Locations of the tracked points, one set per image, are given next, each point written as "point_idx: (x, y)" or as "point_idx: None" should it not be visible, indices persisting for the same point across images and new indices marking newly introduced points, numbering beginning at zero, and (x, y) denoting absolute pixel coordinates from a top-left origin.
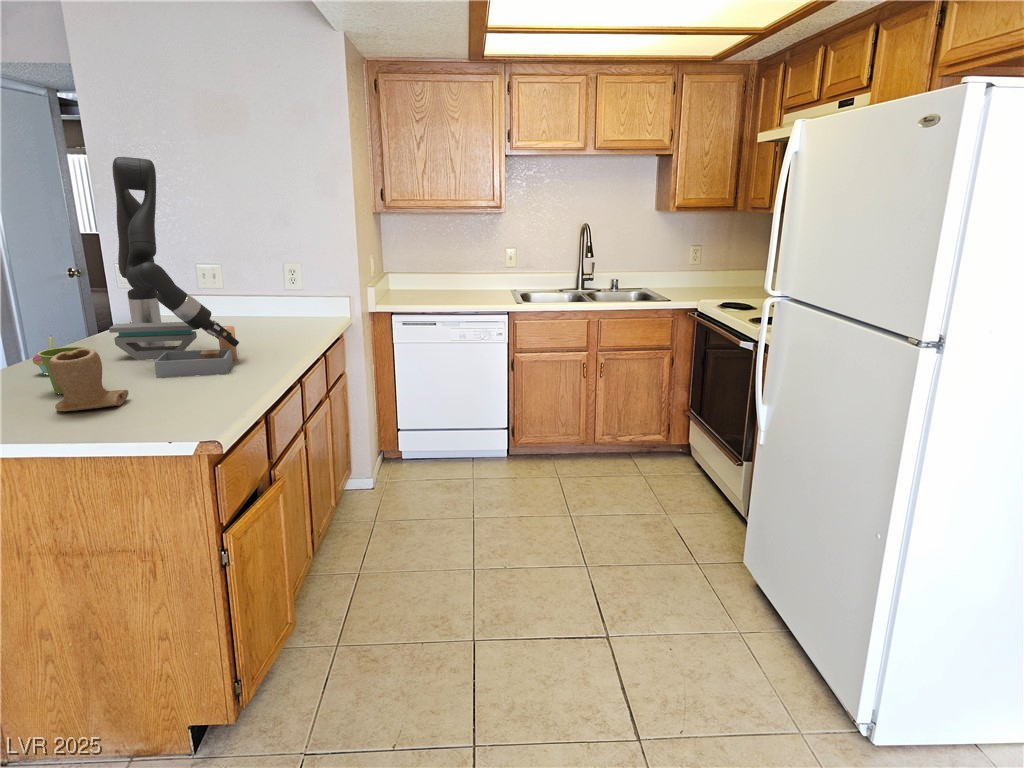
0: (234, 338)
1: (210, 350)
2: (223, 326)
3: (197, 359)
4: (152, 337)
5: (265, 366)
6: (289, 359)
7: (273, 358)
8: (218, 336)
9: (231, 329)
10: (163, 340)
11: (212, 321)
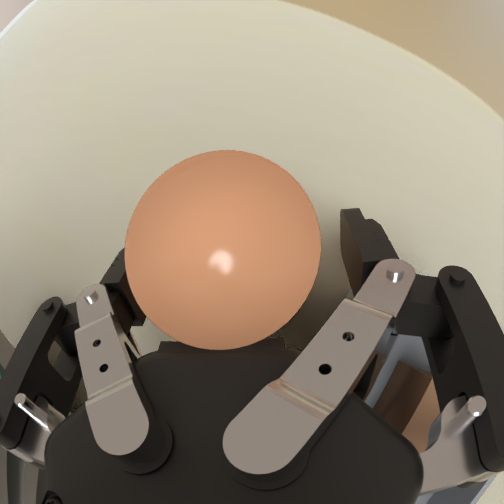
0: (370, 234)
1: (411, 434)
2: (144, 251)
3: (484, 485)
4: (25, 502)
5: (474, 188)
6: (392, 75)
7: (344, 105)
8: (372, 384)
9: (310, 209)
10: (35, 478)
11: (152, 431)
